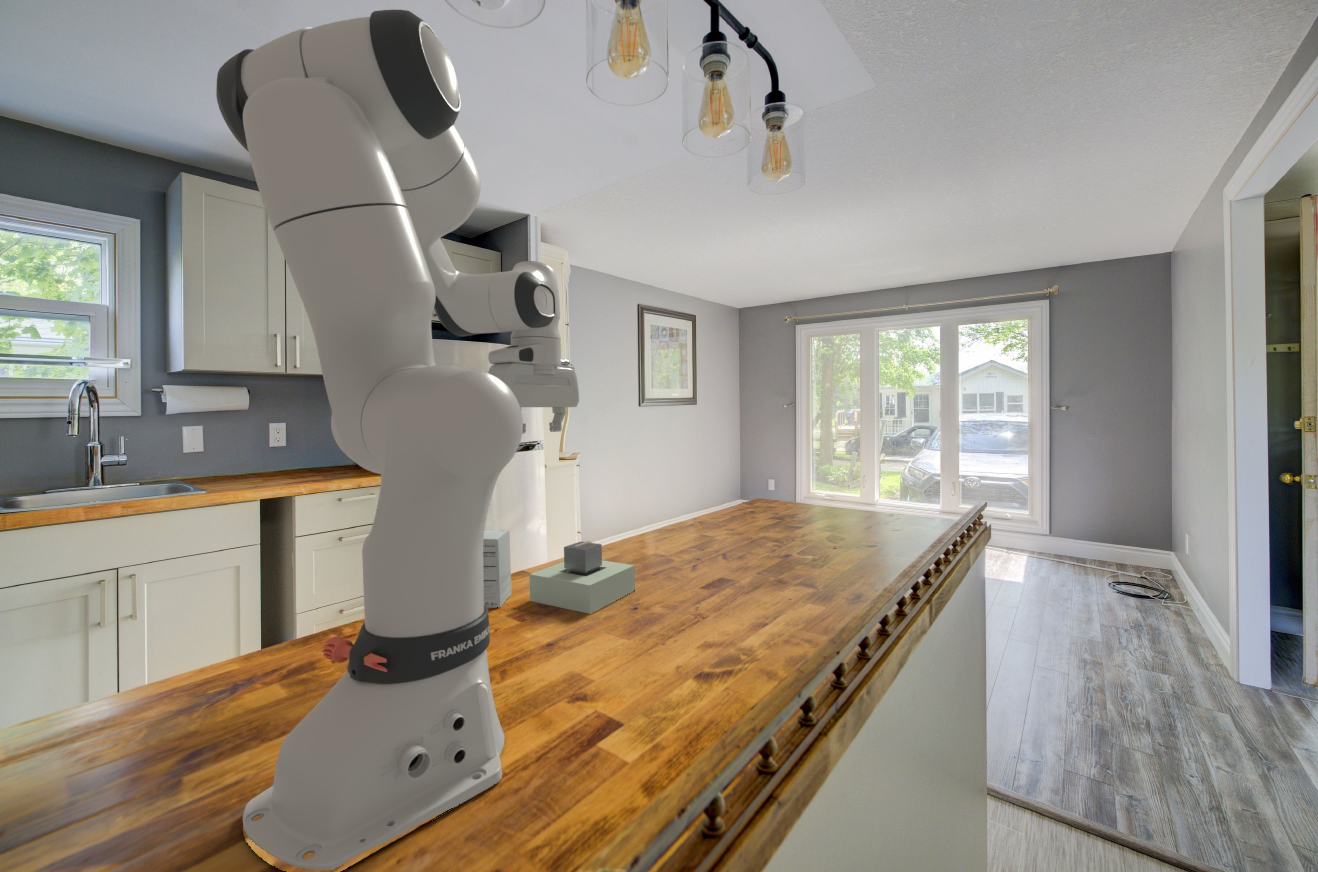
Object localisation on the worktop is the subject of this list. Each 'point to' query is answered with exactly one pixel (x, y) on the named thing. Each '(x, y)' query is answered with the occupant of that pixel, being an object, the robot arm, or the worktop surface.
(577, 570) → the knob
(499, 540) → the supplement box
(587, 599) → the block
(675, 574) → the worktop surface
